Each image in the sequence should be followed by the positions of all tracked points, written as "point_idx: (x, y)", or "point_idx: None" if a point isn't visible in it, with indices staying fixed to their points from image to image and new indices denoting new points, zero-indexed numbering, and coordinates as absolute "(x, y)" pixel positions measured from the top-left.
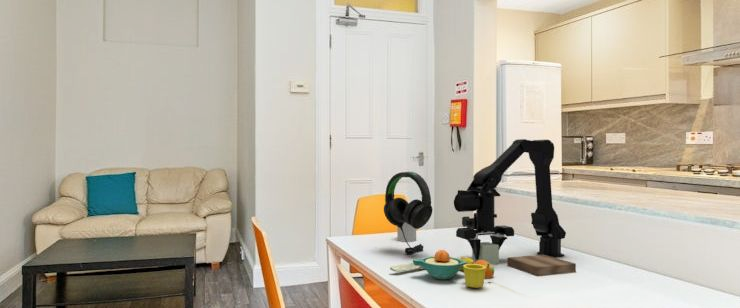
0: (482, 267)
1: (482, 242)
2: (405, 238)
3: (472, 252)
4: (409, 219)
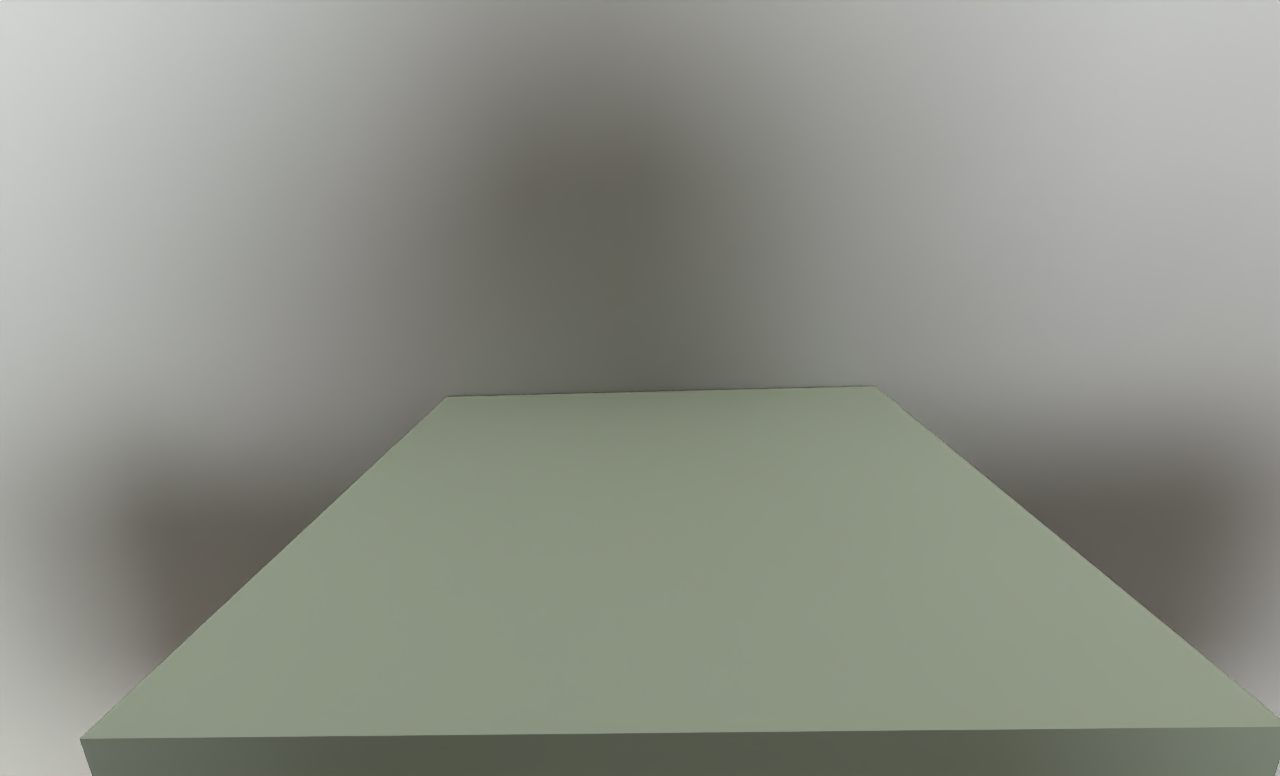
0: None
1: (824, 764)
2: None
3: (351, 501)
4: None
